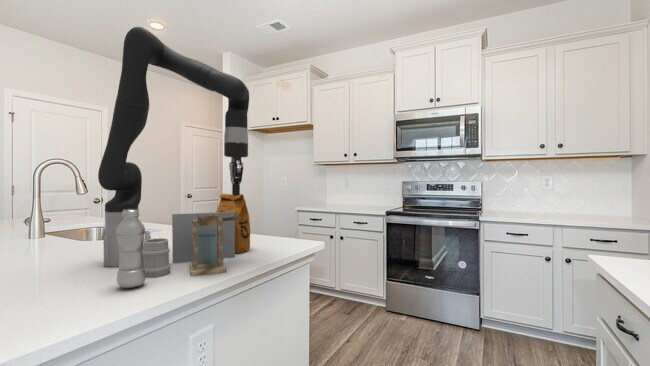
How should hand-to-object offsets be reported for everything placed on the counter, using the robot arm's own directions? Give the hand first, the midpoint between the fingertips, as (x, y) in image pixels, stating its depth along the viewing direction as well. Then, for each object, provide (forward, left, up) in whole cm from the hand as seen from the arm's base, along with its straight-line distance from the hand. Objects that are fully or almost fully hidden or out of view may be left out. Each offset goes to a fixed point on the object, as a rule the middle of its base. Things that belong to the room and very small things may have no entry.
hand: (235, 195), depth 105 cm
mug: (-24, 0, -23) cm, 33 cm away
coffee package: (+2, +19, -23) cm, 30 cm away
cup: (-9, +4, -22) cm, 25 cm away
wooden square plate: (-5, -5, -8) cm, 10 cm away
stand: (-9, -5, -22) cm, 25 cm away
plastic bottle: (-28, -12, -23) cm, 38 cm away
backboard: (-9, +10, -22) cm, 26 cm away
